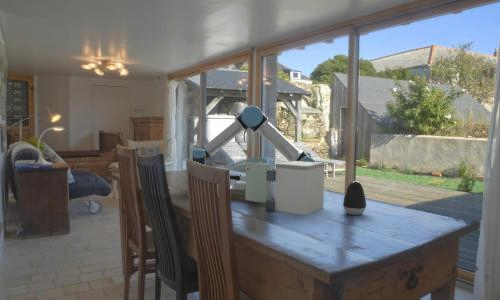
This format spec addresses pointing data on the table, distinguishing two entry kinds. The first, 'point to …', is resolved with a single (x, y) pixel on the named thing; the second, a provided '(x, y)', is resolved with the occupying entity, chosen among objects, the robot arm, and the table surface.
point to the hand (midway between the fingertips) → (243, 181)
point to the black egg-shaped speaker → (354, 199)
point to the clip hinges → (271, 203)
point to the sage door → (257, 182)
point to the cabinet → (299, 187)
